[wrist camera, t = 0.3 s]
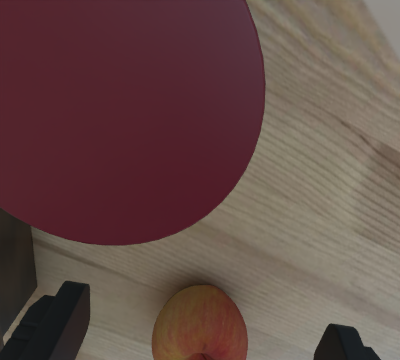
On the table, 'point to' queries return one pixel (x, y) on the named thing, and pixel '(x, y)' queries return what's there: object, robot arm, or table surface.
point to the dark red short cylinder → (125, 113)
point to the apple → (200, 327)
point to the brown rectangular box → (14, 269)
